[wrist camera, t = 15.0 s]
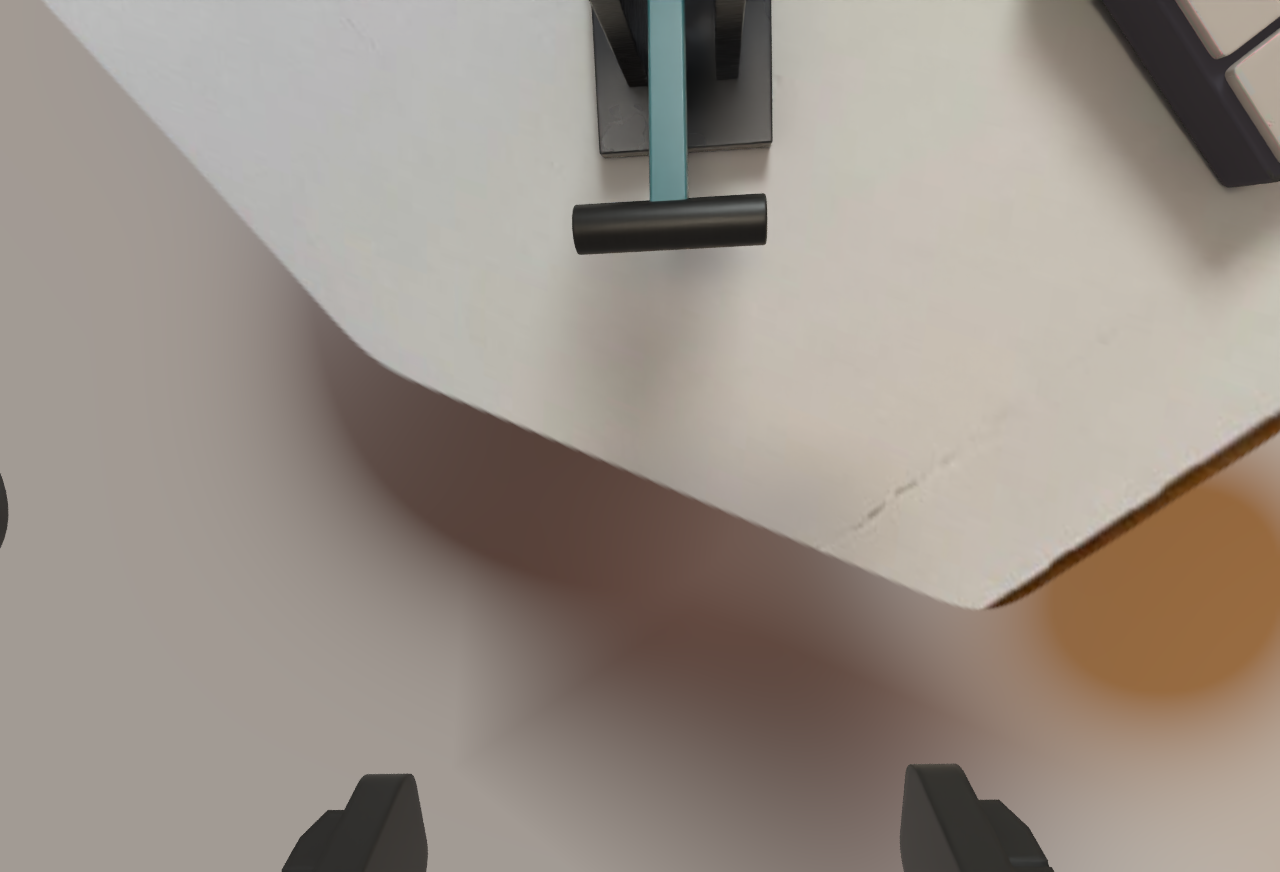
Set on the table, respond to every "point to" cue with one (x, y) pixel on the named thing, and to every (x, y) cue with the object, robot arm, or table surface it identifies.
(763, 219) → the lever
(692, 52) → the bracket
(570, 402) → the table surface
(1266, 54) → the calculator
